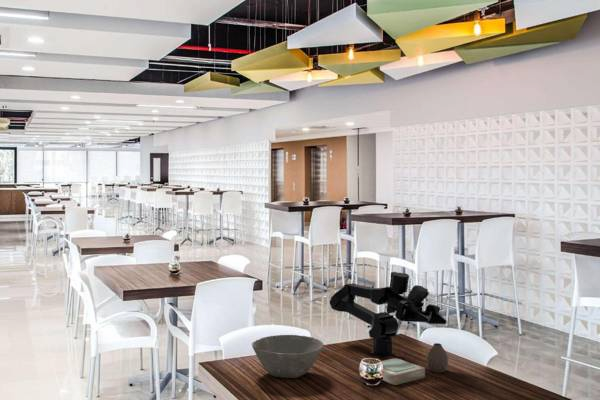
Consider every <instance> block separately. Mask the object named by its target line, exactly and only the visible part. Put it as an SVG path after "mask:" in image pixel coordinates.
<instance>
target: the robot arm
mask: <svg viewBox="0 0 600 400" xmlns="http://www.w3.org/2000/svg"><path fill="white" fill-rule="evenodd" d="M409 280H410V275H409V274H408V273H404V272H397V271H391V272H390V280H389V281H390V282H389V286H385V287H376V288H375V287H371V286H365V285H361V284H357V283H354V282H352V283H345V284H344V285H343V286H342V287H341V288H340V289H339V290H337V291H336V292H335V293H334V294H333V295H332V296H331V298H330V299H329V306H330V308H331V309H332V310H333V311H337V312H343V313H347V314H350V315H352V316H354V317H355V318H357V319H359V320H361V321H362V322H364V323H366V324H368V325H369V326H370V327H371V328H370V329H369V331H368V335H369V338H371V339H373V350H372V351H370V354H372V355H374V356H377V357H381V358H384V357H385V358H386V357H389V356H394V355H395V354H396V353H395V352H394V351H393V340H392V339H393V338H395V337H396V336H397V333H398V330H399V322H398V321H401V322H409V323H427V324H429V325H446V324H447V323H448V321H447V319H446V318H444V316H442V315H441V314H440V311H441V307H440V306H438V305H436V304H430V303H429V304H427V305H426V307H425V310H423V307H424V305H425V303H424V302H423V301H424V300H425V299H427V298H428V296H429V295H430V294H429V292H430V291H429V289H428V288H426V287H424V286H422V285H417V284H415V285H414V286H413V287H412V288H411V290H410V291H409V293H408V296H407V297H406V296H403V295H404V294H405V293H407V292H408V287H409V282H410V281H409ZM356 297H360V298H365V299H368V300H369V301H370V302H371V303H373V304H375V305H377V306H378V305H379V306H380V305H381V306H382V305H386V306H385V309H386V311H384V312H377V313H376V312H375V311H372V310H370V309H368V308H366V307H364V306H363V305H360V304H358V303H356V302H355V299H356ZM393 313H394V315H395V317H394V315H393Z"/></svg>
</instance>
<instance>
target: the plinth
mask: <svg viewBox="0 0 600 400" xmlns="http://www.w3.org/2000/svg"><path fill="white" fill-rule="evenodd" d="M380 361H381V362H382V364H383V379H382V380H381V381H384V382H386V383H388V384H390V385H394V386H397V385H401V384H406V383H409V382H413V381H416V380H421V379H425V378H426V367H423V366H421V365H418V364H414V363H411V362H409V361H407V360H403V359H401V358H397V357H395V358H390V359H385V360H380Z"/></svg>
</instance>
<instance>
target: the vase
mask: <svg viewBox="0 0 600 400" xmlns="http://www.w3.org/2000/svg"><path fill="white" fill-rule="evenodd" d="M446 351H447V350H445V349H444V348H443V345H442V343H438V342H435V343H433V345H432V347H430V349H429V350H428V352H427V355H426V364H427V365H426V366H427V367H428V369H429V370H430V371H431V372H433V373H444V372H445V371H446V370H447V369H448V366H449V355H448V354H447V353H448V352H446Z"/></svg>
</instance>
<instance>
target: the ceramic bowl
mask: <svg viewBox="0 0 600 400" xmlns="http://www.w3.org/2000/svg"><path fill="white" fill-rule="evenodd" d="M251 346H252V348H253V351H254V353H255V355H256V357H257V359H258V361H259V362H260V364H261V365H262V367H263V368H264V370H265V371H266V372H267V374H268V375H270V376H272V377H275V378H282V379H285V378H286V379H297V378H300V377H302V376H303V375H306V374H307V372H309V371H310V369H311V368H312V367H313V365H314V364H315V363H316V361H317V360H318V359H319V356H320V354H321V352H322V351H323V349H324V343H323V342H322V341H321V340H319V339H318V338H315V337H312V336H307V335H298V334H279V335H269V336H265V337H261V338H259V339H257V340H255V341H253V342H252V343H251Z"/></svg>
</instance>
